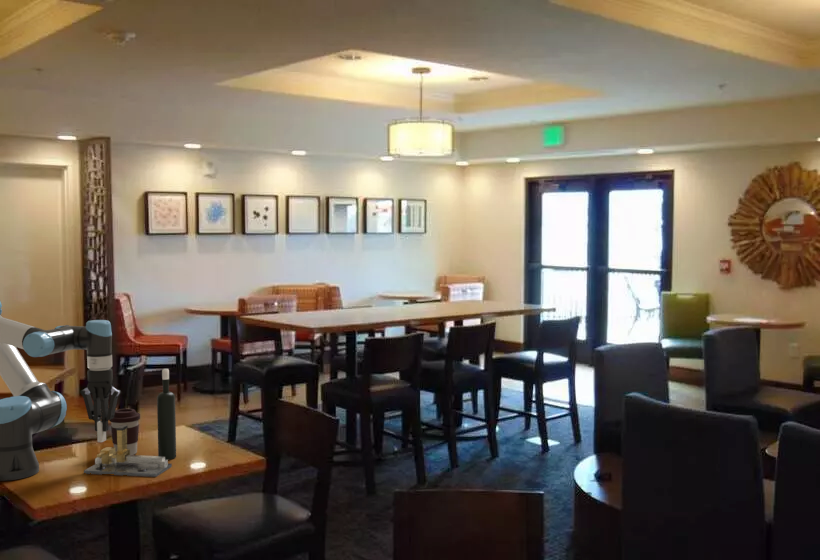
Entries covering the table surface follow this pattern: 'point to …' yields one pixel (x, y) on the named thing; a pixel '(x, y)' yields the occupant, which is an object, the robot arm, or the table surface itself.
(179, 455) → the table surface
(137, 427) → the coffee cup
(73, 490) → the table surface
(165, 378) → the wine bottle
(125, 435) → the sliding leg
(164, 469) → the trammel plate
